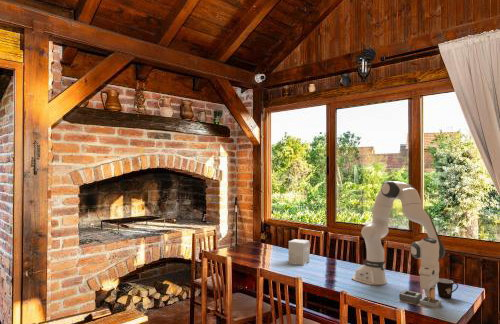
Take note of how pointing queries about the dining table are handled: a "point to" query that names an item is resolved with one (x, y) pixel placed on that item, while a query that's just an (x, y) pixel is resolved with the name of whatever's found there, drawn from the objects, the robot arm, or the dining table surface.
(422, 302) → the tray
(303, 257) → the supplement box
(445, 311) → the dining table surface
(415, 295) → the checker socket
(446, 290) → the coffee mug
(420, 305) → the bench board
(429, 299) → the cell
